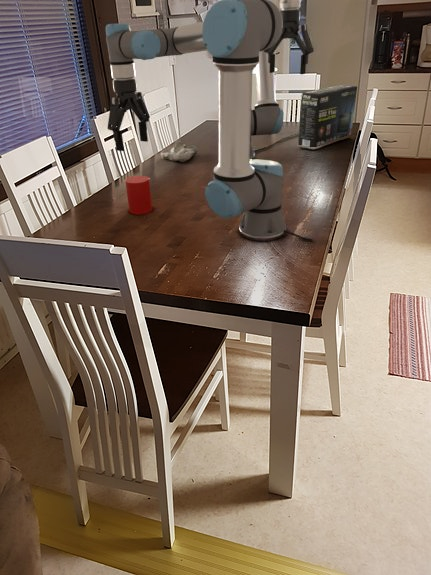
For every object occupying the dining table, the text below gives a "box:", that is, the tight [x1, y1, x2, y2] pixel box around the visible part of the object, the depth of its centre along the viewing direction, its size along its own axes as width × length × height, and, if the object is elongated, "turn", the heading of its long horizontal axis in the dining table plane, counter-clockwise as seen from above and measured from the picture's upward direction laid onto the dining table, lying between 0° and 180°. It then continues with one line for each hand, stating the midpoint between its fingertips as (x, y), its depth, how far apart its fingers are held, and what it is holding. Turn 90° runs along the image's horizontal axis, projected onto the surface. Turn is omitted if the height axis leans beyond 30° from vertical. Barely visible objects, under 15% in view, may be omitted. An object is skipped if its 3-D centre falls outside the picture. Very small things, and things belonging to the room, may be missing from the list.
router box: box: [297, 84, 358, 151], centre depth 238 cm, size 36×11×27 cm, turn 134°
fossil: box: [160, 142, 199, 163], centre depth 229 cm, size 18×11×15 cm
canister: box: [124, 175, 153, 215], centre depth 167 cm, size 8×8×12 cm
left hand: (287, 73), depth 178 cm, fingers open, 13 cm apart
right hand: (132, 145), depth 158 cm, fingers open, 13 cm apart
